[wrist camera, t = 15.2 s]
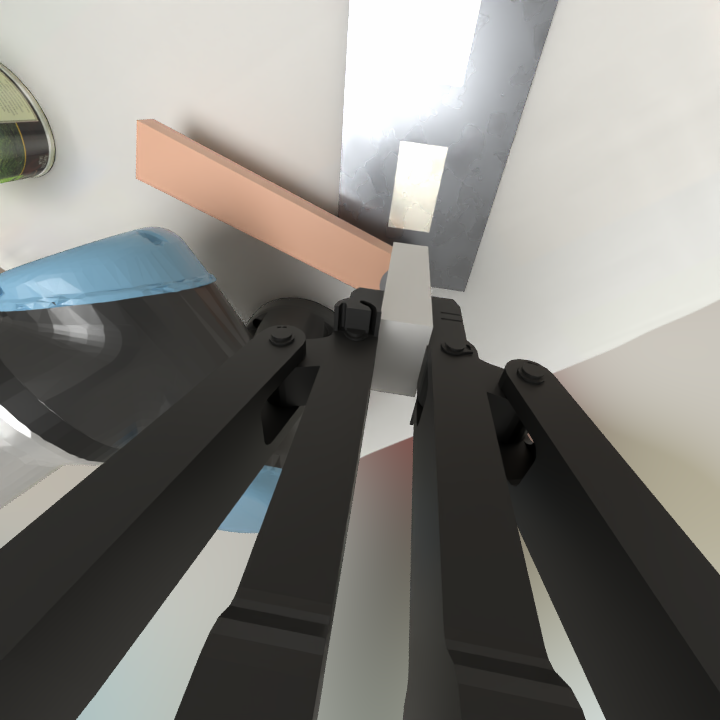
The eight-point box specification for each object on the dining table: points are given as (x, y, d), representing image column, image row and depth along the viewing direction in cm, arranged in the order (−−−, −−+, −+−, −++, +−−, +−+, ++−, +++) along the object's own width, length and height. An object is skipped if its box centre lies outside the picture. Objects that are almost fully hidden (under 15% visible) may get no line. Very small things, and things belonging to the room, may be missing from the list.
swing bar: (429, 264, 31) (429, 276, 29) (405, 301, 34) (404, 314, 32) (155, 118, 27) (134, 120, 25) (153, 173, 30) (133, 178, 28)
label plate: (463, 287, 36) (466, 303, 33) (336, 268, 37) (329, 282, 34) (588, -107, 20) (616, -142, 17) (359, -127, 21) (349, -164, 18)
